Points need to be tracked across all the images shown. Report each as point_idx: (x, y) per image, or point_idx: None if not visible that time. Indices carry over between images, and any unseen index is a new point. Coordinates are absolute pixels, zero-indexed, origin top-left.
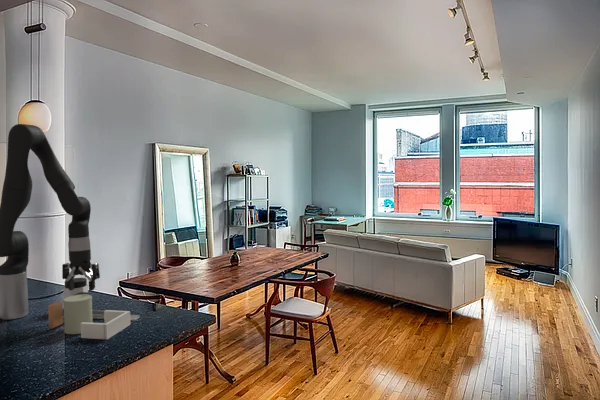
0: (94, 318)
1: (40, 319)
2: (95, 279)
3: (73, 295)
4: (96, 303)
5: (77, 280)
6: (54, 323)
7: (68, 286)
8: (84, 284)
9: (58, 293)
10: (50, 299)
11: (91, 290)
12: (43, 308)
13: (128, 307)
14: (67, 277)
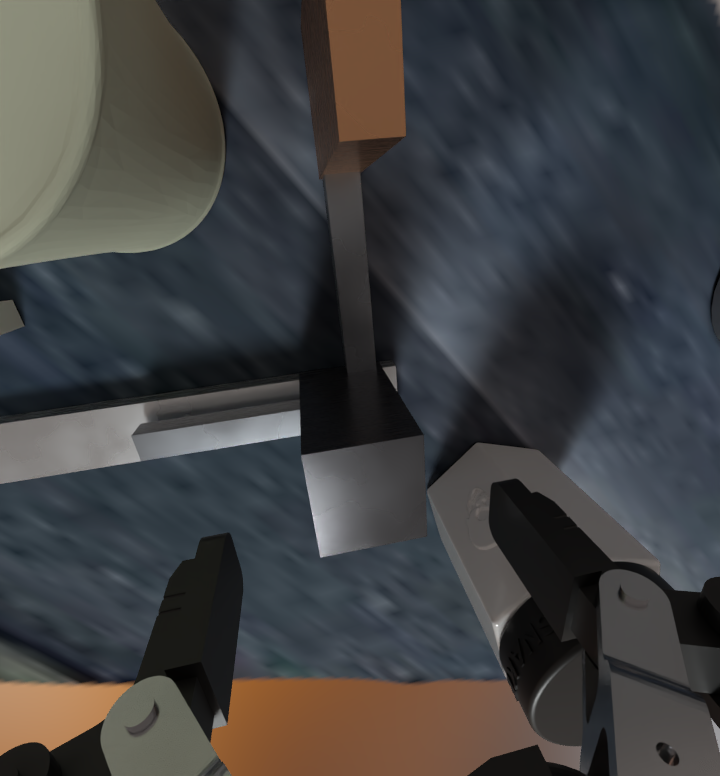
0: (218, 385)
1: (582, 270)
2: (7, 758)
3: (69, 132)
4: (435, 584)
5: None
6: (305, 38)
7: (555, 512)
8: (507, 663)
9: None
10: (711, 549)
11: (205, 545)
12: (676, 439)
13: None
14: (676, 628)
